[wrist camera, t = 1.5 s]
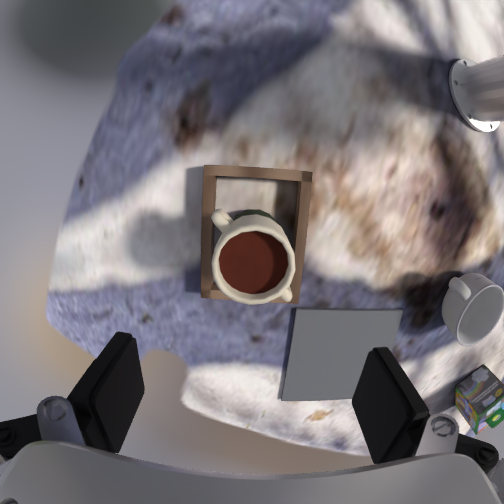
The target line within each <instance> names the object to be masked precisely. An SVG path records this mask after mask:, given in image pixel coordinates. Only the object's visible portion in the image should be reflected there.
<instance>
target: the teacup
mask: <svg viewBox="0 0 504 504" xmlns="http://www.w3.org/2000/svg"><path fill="white" fill-rule="evenodd" d="M503 308H504V291H503V289H502V288H501V287H500V286H499V285H497V284H495V283H493V282H492V281H490V280H489V279H487V278H486V277H484V276H482V275H480V274H478V273H467V274H465V275H462V276H461V277H459V278H457V277H453V278H452V279H451V280H450V282H449V289H448V291H447V292H446V295H445V297H444V300H443V303H442V318H443V320H444V323H445V324H446V326H447V327H448V329H449V330H450V331H451V333H452V334H453V335H454V336H455V337H456V339H457V341H458V342H459V343H460V344H461V345H463V346H472V345H475V344H477V343H479V342H480V341H482V340H483V339H484V338H485V337H486V336H487V335H489V334H490V333H491V331H492V330H493V329H494V327H495V326H496V324H497V323H498V321H499V319H500V317H501V314H502V311H503Z"/></svg>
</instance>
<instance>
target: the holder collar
mask: <svg viewBox="0 0 504 504" xmlns="http://www.w3.org/2000/svg"><path fill="white" fill-rule="evenodd" d="M217 176H235V177H252V178H267V179H280V180H292V181H298V190H297V202H296V213H295V224H294V235H293V245H292V249H293V251H294V256H295V273H294V276H293V279H292V282H291V284H290V288H291V292H292V296H293V297H292V299H291V301H288V302H286V301H284V300H283V299H282V298H281V297H278V298H276V299H274V300H271V301H269V302H272V303H293V304H298V301H299V294H300V286H301V279H302V271H303V263H304V254H305V246H306V237H307V227H308V217H309V207H310V196H311V185H312V172H307V171H296V170H285V169H273V168H260V167H243V166H222V165H204V175H203V198H202V231H201V298H211V299H224V300H232V299H230V298H228V297H227V296H226V295H224V294H223V293H222V292H221V291H220V289H219V288H218V287H217V285H216V283H215V282H213V273H212V264H211V262H212V258H213V254H214V225H215V224H214V223H213V221H212V219H211V216H212V214H213V213H214V211H215V200H216V179H217Z"/></svg>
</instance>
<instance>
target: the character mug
mask: <svg viewBox="0 0 504 504" xmlns="http://www.w3.org/2000/svg"><path fill="white" fill-rule="evenodd" d="M211 219H212V221H213V223H214V224H215V225H216V226H217V227H218V229H219V230H220V231H221V232H222V235H221V236H220V238H219V240H218V242H217V244H216V246H215V249H214V254H213V258H212V262H211V264H212V273H213V278H214V280H215V283H216V285H217V287H218V288H219V289H220V291H221V292H222V293H223V294H224V295H226V296H227V297H228V298H230V299H232V300H234V301H236V302H239V303H244V304H249V305H254V304H263V303H267V302H269V301H271V300H274V299H276V298H278V297H281V298H282V299H283V300H284V301H286V302H288V301H291V299H292V297H293V296H292V292H291V288H290V284H291V282H292V279H293V276H294V273H295V256H294V251H293V249H292V247H291V245H290V243H289V241H288V239H287V237H286V235H285V233H284V231H283V229H282V227H281V226H280V225H278V224H277V222H276V221H275V220H274V219H273V218H272V216H271V215H270V214H268V213H266V212H264V211H261V210H246V211H244V212H242V213H241V214H239V215H237V216H236V217H235V219H234V220H232V219H231V218H230V216H229V215H228V214H227V213H226V212H225V211H224V210H222V209H217V210H215V211H214V213H213V214H212V216H211Z"/></svg>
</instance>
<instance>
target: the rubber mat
mask: <svg viewBox="0 0 504 504" xmlns="http://www.w3.org/2000/svg"><path fill="white" fill-rule="evenodd" d="M403 311H404V310H403V309H331V308H298V307H296V312H295V319H294V326H293V332H292V339H291V345H290V351H289V358H288V364H287V369H286V375H285V381H284V386H283V392H282V397H281V401H320V400H339V399H352V397H353V395H354V392H355V389H356V387H357V384H358V381H359V378H360V376H361V373H362V370H363V367H364V364H365V361H366V358H367V355H368V353H369V351H372V349H373V348H375V347H388V348H389V350H390V351H391V349H392V346H393V343H394V340H395V337H396V334H397V331H398V328H399V325H400V321H401V318H402V315H403Z"/></svg>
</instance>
